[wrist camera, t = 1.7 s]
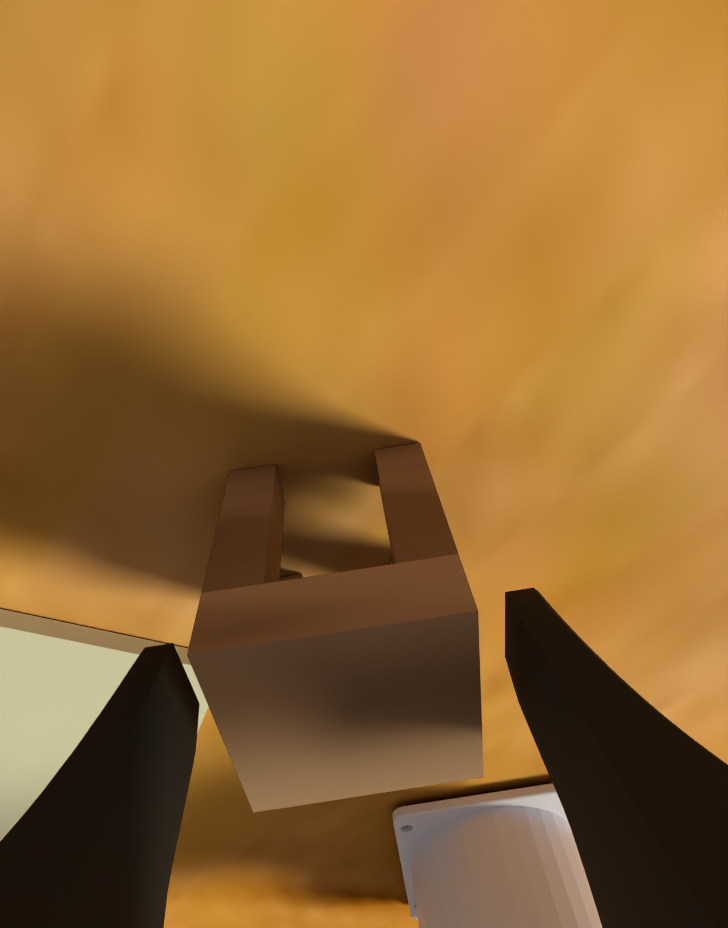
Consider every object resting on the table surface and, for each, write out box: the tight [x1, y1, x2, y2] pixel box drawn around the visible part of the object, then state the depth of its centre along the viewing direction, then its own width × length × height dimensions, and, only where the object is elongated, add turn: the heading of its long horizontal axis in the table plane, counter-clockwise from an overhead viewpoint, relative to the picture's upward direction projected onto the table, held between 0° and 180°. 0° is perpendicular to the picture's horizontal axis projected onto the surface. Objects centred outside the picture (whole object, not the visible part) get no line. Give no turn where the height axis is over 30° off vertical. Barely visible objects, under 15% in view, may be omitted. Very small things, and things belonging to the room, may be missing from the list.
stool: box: [187, 443, 484, 813], centre depth 14 cm, size 5×5×6 cm
